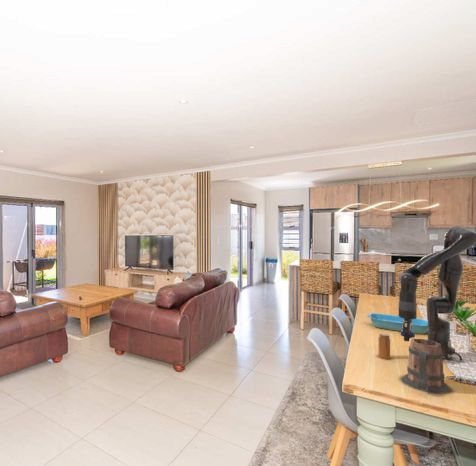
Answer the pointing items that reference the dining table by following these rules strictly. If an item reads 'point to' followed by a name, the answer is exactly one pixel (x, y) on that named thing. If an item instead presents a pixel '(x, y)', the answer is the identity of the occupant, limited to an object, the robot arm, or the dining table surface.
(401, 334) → the lid
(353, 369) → the dining table surface
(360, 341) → the dining table surface
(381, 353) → the jar
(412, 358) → the tankard
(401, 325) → the casserole dish
